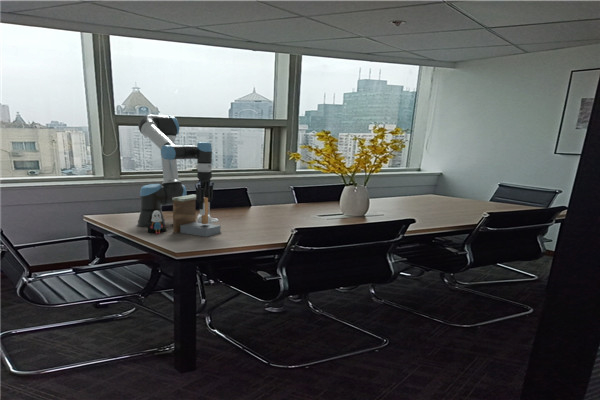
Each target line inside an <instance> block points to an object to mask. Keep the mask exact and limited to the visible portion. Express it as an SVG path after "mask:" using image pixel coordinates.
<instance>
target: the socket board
mask: <svg viewBox="0 0 600 400" xmlns="http://www.w3.org/2000/svg"><path fill="white" fill-rule="evenodd" d="M179 233H180V234H187V235H193V236H200V237H211V236H215V235H217V234H220V233H221V225H220V224H213V223H212V224H202V223H200V222H197V221H196V222H192V223H188V224H184V225H180V232H179Z"/></svg>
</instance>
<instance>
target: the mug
mask: <svg viewBox="0 0 600 400" xmlns="http://www.w3.org/2000/svg"><path fill="white" fill-rule="evenodd" d="M196 222H200V223H202V215H200V213H198V214H197V217H196ZM218 222H219V219H218V218H216V217H215V218H214V217H211V215H210V214H208V224H213V223H218Z"/></svg>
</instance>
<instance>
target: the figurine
mask: <svg viewBox="0 0 600 400" xmlns="http://www.w3.org/2000/svg"><path fill="white" fill-rule="evenodd" d="M151 221H153V222H152V226H151V227H147V234H151V235H161V234H165V233H166V232H167V227H166V226H164V225H162V224H161V221H162V219H161V213H160V212H159V211H157V210H156V211H154V212H153V214H152V220H151ZM154 222H156V223H155V225H154V226H153V224H154Z"/></svg>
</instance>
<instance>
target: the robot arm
mask: <svg viewBox="0 0 600 400" xmlns="http://www.w3.org/2000/svg"><path fill="white" fill-rule="evenodd" d="M137 125H138V131H139V132H140V134H141V135H142V136H144V137H145V138H148V139H149V140H150V141H151V142H152V143H153V144H154V145H155V146H156V147H157V148H159V150H160V159H161V167H162V175H163V181H162V182H161V184H160V183H149V184H146V185H142V186H141V187H140V191H139V196H140V197H139V200H140V201H139V202H140V205H139V206H140V213H139V217H138V220H137V226H139V227H143V228H144V227H145V228H148V227H151V226H152V222H153V221H151V220H152V214H153V212H154V211H156V210H157V211H159V212H160V213H161V219H162V221H161V224H162V226H164V225H166V220H165V218H164V214H163V211H162V209H163V208H162V207H163V206H173V200H172V198H174V197H180V196H186V195H187V194H188V192H187V188H186V186H185V185H184V184H183V183H182V181H181V180H180V178H179V172H178V163H177V162H178V161H177V160H196V162H197V163H196V165H197V167H196V170H197V176H196V177H197V179H198V183H195V184H194V187H195V195H196V199H195V202H196V203H199V207H198V208H199V214H200V215H205V203H204V197H207V198H208V214H209V215H210V214H211V213H210V209H211V203H212V202H213V200H214V199H213V198H214V197H213V196H214V186H215V182H212V181H211V179H212V178H213V177H212V176H213V173H212V170H213V169H212V165H213V164H212V161H213V160H212V157H213V156H212V155H213V149H212V143H211V142H209V141H205V142H204V141H198V142H197V144H176V143H175V140H176V139H177V135H179V133H180V124H179V121H178V119H177V118H176V117H175V116H173V115H168V114H167V115H166V114H147V115H144V116H143V117H142V118H141V119H140V120H139V122H138V124H137ZM155 223H156V222H154V224H153V226H154V225H155Z"/></svg>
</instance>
